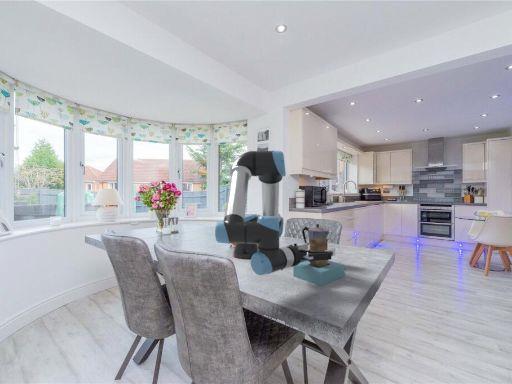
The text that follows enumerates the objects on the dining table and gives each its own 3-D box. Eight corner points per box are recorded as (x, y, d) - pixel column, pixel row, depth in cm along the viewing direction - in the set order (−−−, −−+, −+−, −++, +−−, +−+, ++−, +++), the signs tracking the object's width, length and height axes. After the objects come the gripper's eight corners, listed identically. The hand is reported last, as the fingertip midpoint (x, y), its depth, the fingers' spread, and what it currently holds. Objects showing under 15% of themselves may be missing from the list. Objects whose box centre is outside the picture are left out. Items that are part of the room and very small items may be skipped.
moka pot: (326, 268, 116) (326, 226, 116) (297, 262, 125) (297, 223, 125) (333, 263, 123) (333, 224, 123) (305, 258, 132) (305, 222, 133)
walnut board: (310, 274, 103) (309, 239, 103) (319, 271, 108) (319, 237, 108) (317, 276, 100) (317, 240, 100) (327, 273, 105) (327, 238, 105)
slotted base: (293, 276, 104) (293, 264, 104) (316, 268, 115) (316, 257, 115) (321, 285, 93) (321, 272, 93) (344, 276, 104) (344, 264, 104)
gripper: (264, 260, 100) (297, 252, 114) (315, 275, 81) (347, 263, 95) (264, 242, 100) (297, 236, 114) (315, 253, 81) (347, 244, 95)
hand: (320, 248), depth 104 cm, fingers open, 13 cm apart
